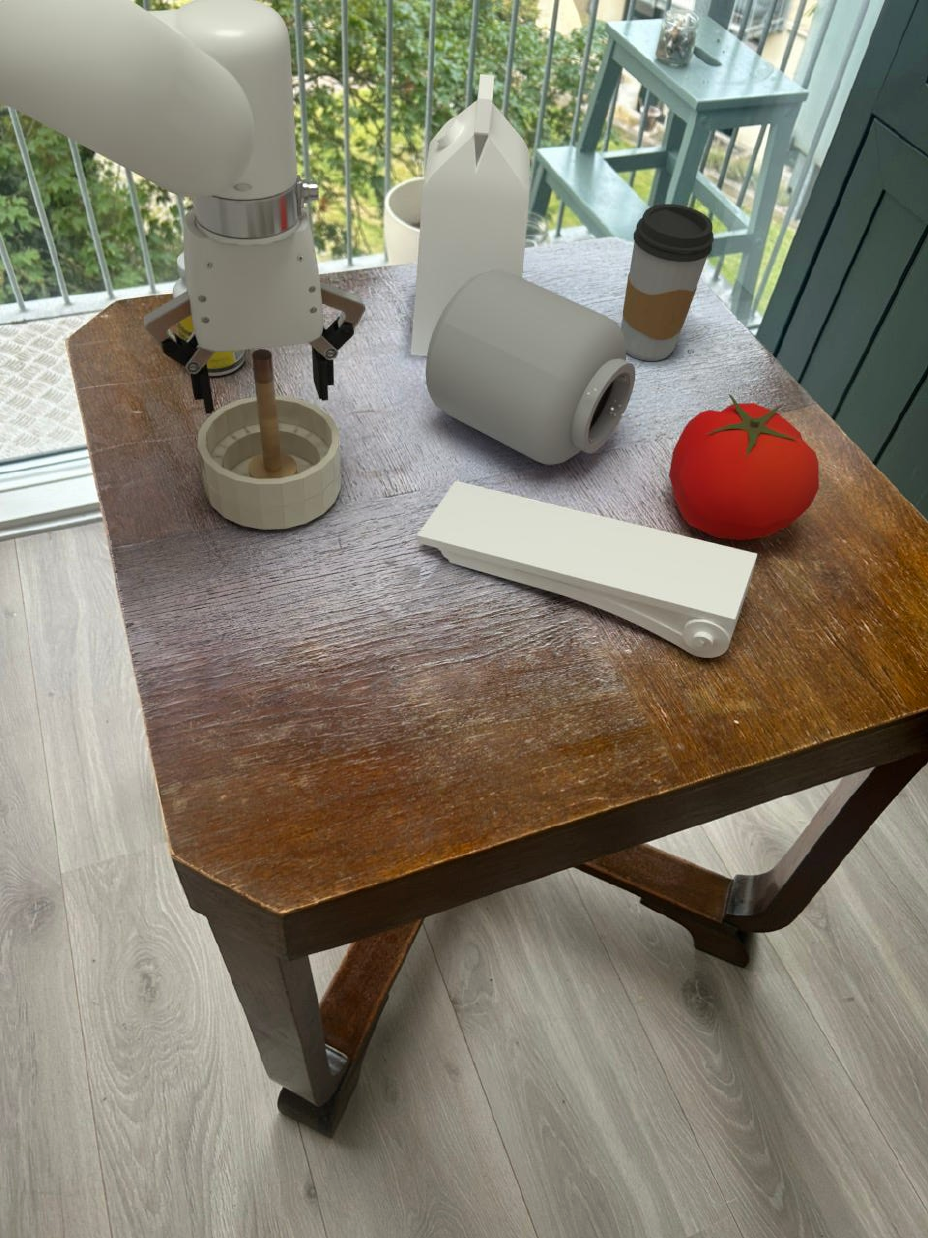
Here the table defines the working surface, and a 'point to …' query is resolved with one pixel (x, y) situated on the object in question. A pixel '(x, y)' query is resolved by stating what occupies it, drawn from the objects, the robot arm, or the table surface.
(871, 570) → the table surface
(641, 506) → the table surface
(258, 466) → the stirrer
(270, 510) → the bowl
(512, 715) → the table surface
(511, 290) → the jar
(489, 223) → the milk
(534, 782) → the table surface
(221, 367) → the pill bottle
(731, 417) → the tomato
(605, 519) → the wall bracket
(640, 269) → the coffee cup
